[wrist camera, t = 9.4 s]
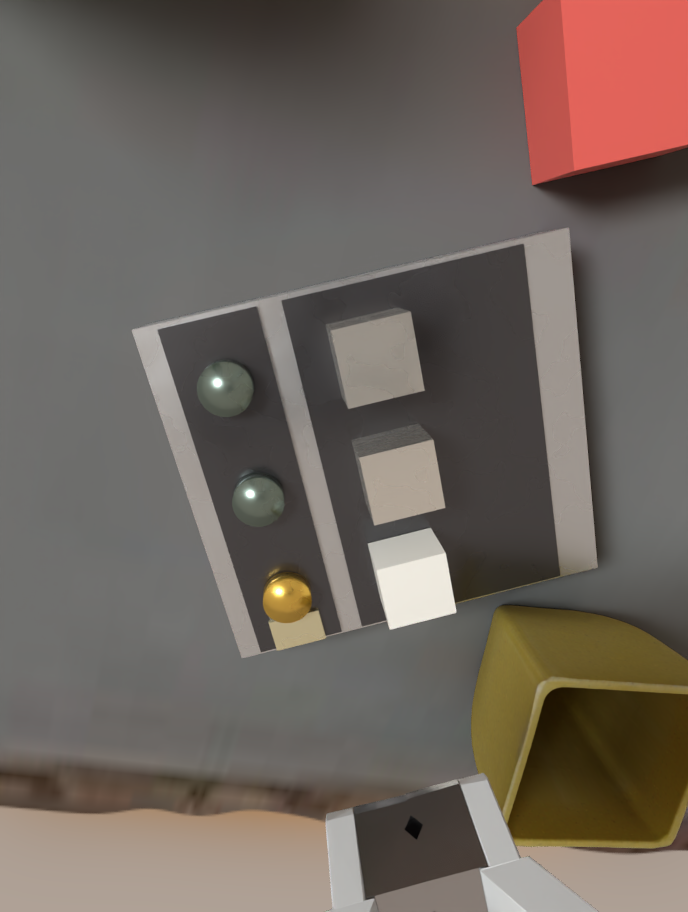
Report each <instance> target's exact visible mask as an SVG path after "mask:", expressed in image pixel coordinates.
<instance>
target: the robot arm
mask: <svg viewBox="0 0 688 912" xmlns="http://www.w3.org/2000/svg"><path fill="white" fill-rule="evenodd" d="M326 835H327V847H328V859H329V871H330V883H331V896H332V907H333V909H331V910H328V911H325V912H599V911H598V910H596V909H595V908H594V907H593V906H591V905H590V904H589V903H588V902H586V901H585V900H583V899H582V898H581V897H580V896H579V895H578V894H576V893H575V892H574V891H572V890H571V889H570V888H569V887H567V886H566V885H565V884H563V883H562V882H561V881H560V880H559V879H557V878H556V877H555V876H554V875H552V874H551V873H550V872H548V871H547V870H546V869H545V868H543V867H542V866H541V865H540V864H538V863H537V862H536V861H535V860H533V859H532V858H531V857H530V856H528V857H523V858H521V857H520V855H519V852H518V850H517V847H516V845H515V842H514V840H513V838H512V835H511V833H510V830H509V828H508V826H507V823H506V821H505V818H504V816H503V813H502V811H501V809H500V806H499V804H498V801H497V799H496V797H495V794H494V792H493V789H492V787H491V784H490V782H489V780H488V777H487V776H486V775H485V774H484V773H481V774H477V775H473V776H470V777H466V778H462V779H458V781H457V780H453V781H449V782H445V783H442V784H438V785H435V786H431V787H428V788H424V789H421V790H417V791H413V792H410V793H406V795H403V796H399V797H394V798H390V799H386V800H381V801H377V802H373V803H369V804H364V805H360V806H356V807H352V808H348V809H344V810H340V811H336V812H332V813H328V814H327V815H326Z"/></svg>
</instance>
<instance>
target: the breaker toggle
mask: <svg viewBox="0 0 688 912" xmlns="http://www.w3.org/2000/svg"><path fill="white" fill-rule="evenodd" d="M368 547H369V552H370V556H371V560H372V565H373V569H374V573H375V578H376V582H377V586H378V591H379V595H380V599H381V602H382V606H383V609H384V612H385V615H386V619H387V622H388V625H389V628H390V630H391V629H395V628H398V627H402V626H406V625H410V624H414V623H418V622H422V621H426V620H430V619H434V618H438V617H441V616H445V615H449V614H453V613H457V612H456V607H455V601H454V596H453V590H452V585H451V579H450V574H449V568H448V563H447V557H446V553H445V551H444V549H443V548H442V546H441V544H440V542H439V541H438V539H437V537H436V536H435V534H434V532H433V531H432V529H431V528H427V529H423V530H419V531H415V532H411V533H407V534H403V535H399V536H396V537H392V538H388V539H384V540H380V541H376V542H372V543H368Z"/></svg>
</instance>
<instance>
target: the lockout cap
mask: <svg viewBox="0 0 688 912" xmlns="http://www.w3.org/2000/svg"><path fill="white" fill-rule="evenodd" d="M516 29H517V39H518V49H519V59H520V68H521V78H522V88H523V98H524V108H525V118H526V127H527V137H528V147H529V157H530V167H531V177H532V185H536V184H540V183H544V182H548V181H553V180H557V179H561V178H566V177H570V176H574V175H579V174H583V173H587V172H592V171H596V170H600V169H605V168H609V167H613V166H618V165H622V164H626V163H631V162H635V161H639V160H644V159H648V158H652V157H657V156H661V155H664V154H668V153H671V152H674V151H677V150H681V149H684V148H687V147H688V0H543V1H542V2H541V3H540V4H539V5H538V6H537V7H536V8H535V9H534V10H533V11H532V12H531V13H530V14H529V15H528V16H527V17H526V18H525V19H524V21H523V22H522V23H521V24H520V25H519V26H518V27H517V28H516Z"/></svg>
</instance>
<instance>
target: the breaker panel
mask: <svg viewBox="0 0 688 912" xmlns="http://www.w3.org/2000/svg"><path fill="white" fill-rule="evenodd" d="M132 332H133V335H134V338H135V341H136V344H137V347H138V350H139V353H140V356H141V359H142V362H143V365H144V368H145V371H146V374H147V377H148V380H149V383H150V386H151V389H152V392H153V395H154V398H155V401H156V404H157V407H158V410H159V413H160V416H161V419H162V422H163V425H164V428H165V431H166V434H167V437H168V440H169V443H170V445H171V448H172V451H173V454H174V457H175V460H176V463H177V466H178V469H179V472H180V475H181V478H182V481H183V484H184V487H185V490H186V493H187V496H188V499H189V502H190V505H191V508H192V511H193V514H194V517H195V520H196V523H197V526H198V529H199V532H200V535H201V538H202V541H203V544H204V547H205V550H206V553H207V556H208V559H209V562H210V564H211V567H212V570H213V573H214V576H215V579H216V582H217V585H218V588H219V591H220V594H221V597H222V600H223V603H224V606H225V609H226V612H227V615H228V618H229V621H230V624H231V627H232V630H233V633H234V636H235V639H236V642H237V645H238V648H239V651H240V654H241V657H242V658H245V657H249V656H253V655H257V654H261V653H265V652H269V651H273V650H277V651H279V650H283V649H287V648H290V647H294V646H298V645H302V644H306V643H310V642H314V641H318V640H322V639H326V637H328V636H331V635H335V634H339V633H343V632H347V631H351V630H355V629H359V628H363V627H367V626H371V625H375V624H378V623H382V622H386V621H387V619H386V615H385V612H384V609H383V606H382V602H381V599H380V595H379V591H378V586H377V582H376V578H375V573H374V569H373V565H372V560H371V556H370V552H369V547H368V543H372V542H376V541H380V540H384V539H388V538H392V537H396V536H399V535H403V534H407V533H411V532H415V531H419V530H423V529H427V528H431V529H432V531H433V532H434V534H435V536H436V537H437V539H438V541H439V542H440V544H441V546H442V548H443V549H444V551H445V553H446V557H447V563H448V568H449V574H450V579H451V585H452V590H453V596H454V601H455V604H457V603H461V602H465V601H469V600H473V599H476V598H480V597H484V596H488V595H492V594H496V593H500V592H504V591H508V590H512V589H516V588H520V587H523V586H527V585H531V584H535V583H539V582H543V581H547V580H551V579H555V578H559V577H563V576H567V575H570V574H574V573H578V572H582V571H586V570H590V569H594V568H598V566H597V554H596V542H595V531H594V519H593V507H592V495H591V483H590V471H589V460H588V448H587V436H586V424H585V412H584V400H583V389H582V377H581V365H580V353H579V341H578V330H577V318H576V306H575V294H574V282H573V270H572V259H571V247H570V235H569V228H563V229H556V230H550V231H544V232H537V233H533V234H529V235H524V236H520V237H516V238H512V239H507V240H503V241H499V242H494V243H490V244H486V245H482V246H477V247H473V248H469V249H465V250H460V251H456V252H452V253H447V254H443V255H439V256H435V257H430V258H426V259H422V260H418V261H413V262H409V263H405V264H400V265H396V266H392V267H388V268H383V269H379V270H375V271H371V272H366V273H362V274H358V275H353V276H349V277H345V278H341V279H336V280H332V281H328V282H324V283H319V284H315V285H311V286H307V287H302V288H298V289H294V290H289V291H285V292H281V293H277V294H272V295H268V296H264V297H260V298H255V299H251V300H247V301H242V302H238V303H234V304H230V305H225V306H221V307H217V308H213V309H208V310H204V311H200V312H195V313H191V314H187V315H183V316H178V317H174V318H170V319H166V320H161V321H157V322H153V323H148V324H146V325H143V326H141V327H138V328H135V329H133V330H132Z"/></svg>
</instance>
